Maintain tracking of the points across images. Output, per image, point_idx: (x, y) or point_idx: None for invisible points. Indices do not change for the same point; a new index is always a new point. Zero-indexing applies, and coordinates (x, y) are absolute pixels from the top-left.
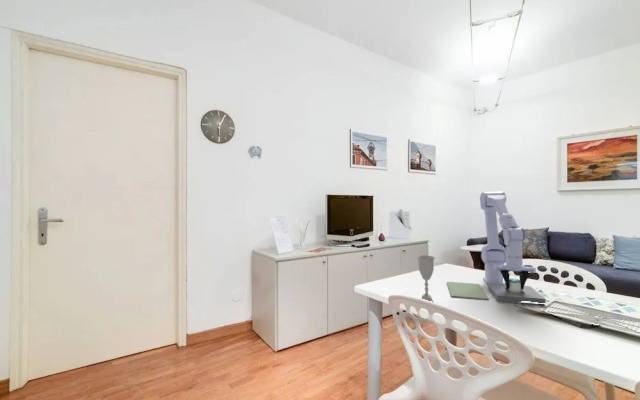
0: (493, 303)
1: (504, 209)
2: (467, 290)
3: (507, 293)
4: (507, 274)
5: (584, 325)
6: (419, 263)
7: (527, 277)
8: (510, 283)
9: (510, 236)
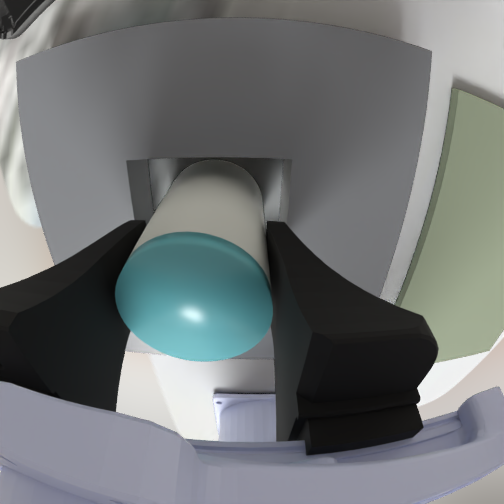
0: (440, 18)
1: None
2: (496, 250)
3: (317, 116)
4: (356, 326)
5: None
6: None
7: (7, 289)
8: (258, 249)
9: None
